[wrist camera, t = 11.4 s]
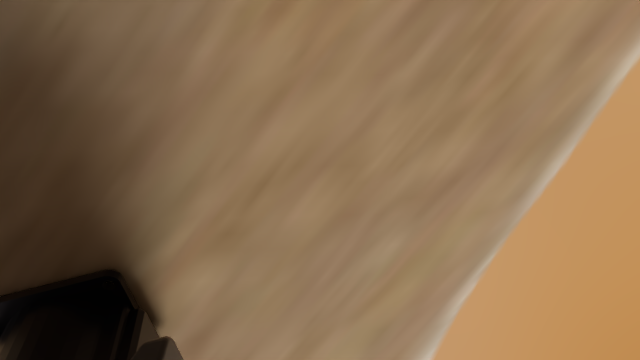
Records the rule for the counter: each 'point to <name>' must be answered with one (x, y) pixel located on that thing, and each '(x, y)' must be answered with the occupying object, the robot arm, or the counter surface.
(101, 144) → the counter surface
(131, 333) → the robot arm
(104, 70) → the counter surface
